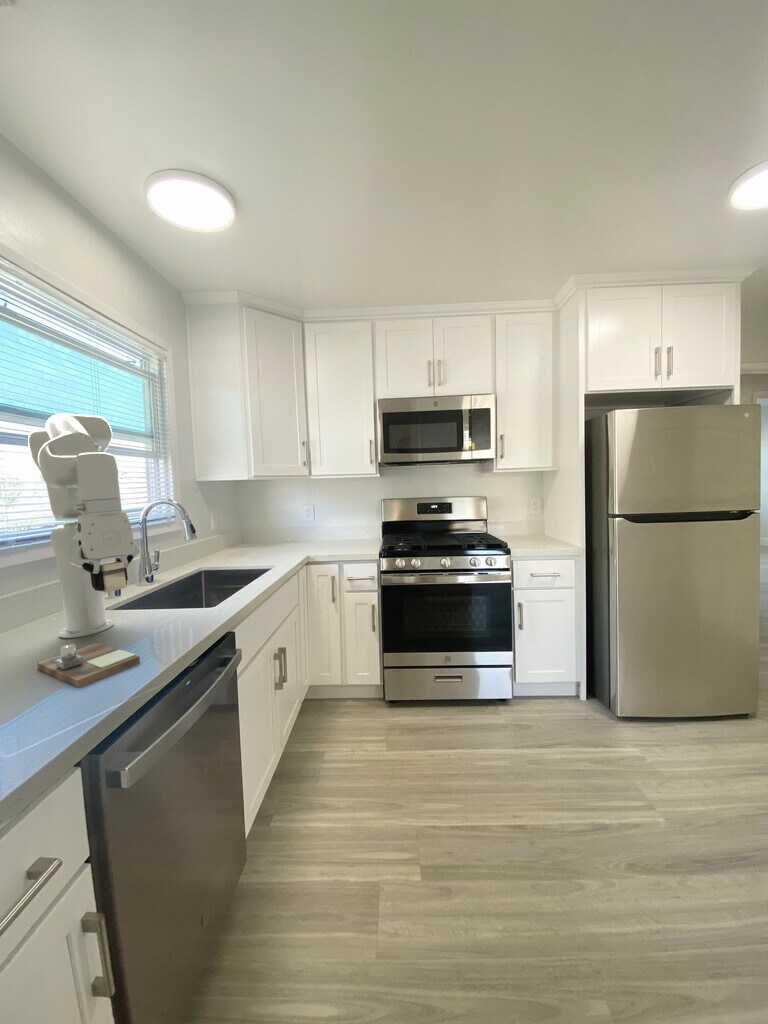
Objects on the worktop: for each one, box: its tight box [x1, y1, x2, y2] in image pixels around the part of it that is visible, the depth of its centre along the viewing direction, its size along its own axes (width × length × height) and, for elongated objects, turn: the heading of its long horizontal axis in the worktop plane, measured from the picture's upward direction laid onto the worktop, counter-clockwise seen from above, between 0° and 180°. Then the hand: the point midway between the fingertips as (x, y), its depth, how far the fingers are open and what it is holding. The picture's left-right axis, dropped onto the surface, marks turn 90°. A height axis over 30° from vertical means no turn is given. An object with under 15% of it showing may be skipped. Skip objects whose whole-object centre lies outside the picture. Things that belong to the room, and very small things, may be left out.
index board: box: [36, 642, 141, 688], centre depth 90 cm, size 20×12×2 cm, turn 59°
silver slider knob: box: [55, 643, 84, 670], centre depth 87 cm, size 4×4×4 cm
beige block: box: [96, 560, 127, 593], centre depth 91 cm, size 5×4×6 cm
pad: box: [86, 649, 137, 668], centre depth 90 cm, size 7×7×1 cm
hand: (110, 586), depth 91 cm, fingers closed on beige block, 4 cm apart
